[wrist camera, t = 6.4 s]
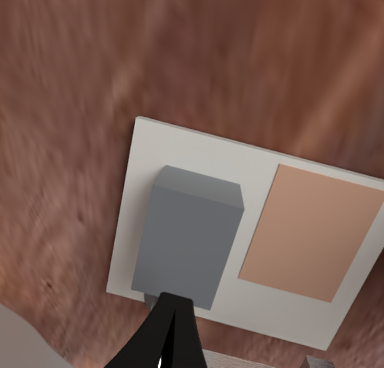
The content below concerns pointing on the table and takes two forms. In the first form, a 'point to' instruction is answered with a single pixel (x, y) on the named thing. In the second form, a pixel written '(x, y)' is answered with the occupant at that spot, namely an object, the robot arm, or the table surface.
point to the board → (264, 232)
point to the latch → (224, 364)
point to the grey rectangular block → (187, 235)
